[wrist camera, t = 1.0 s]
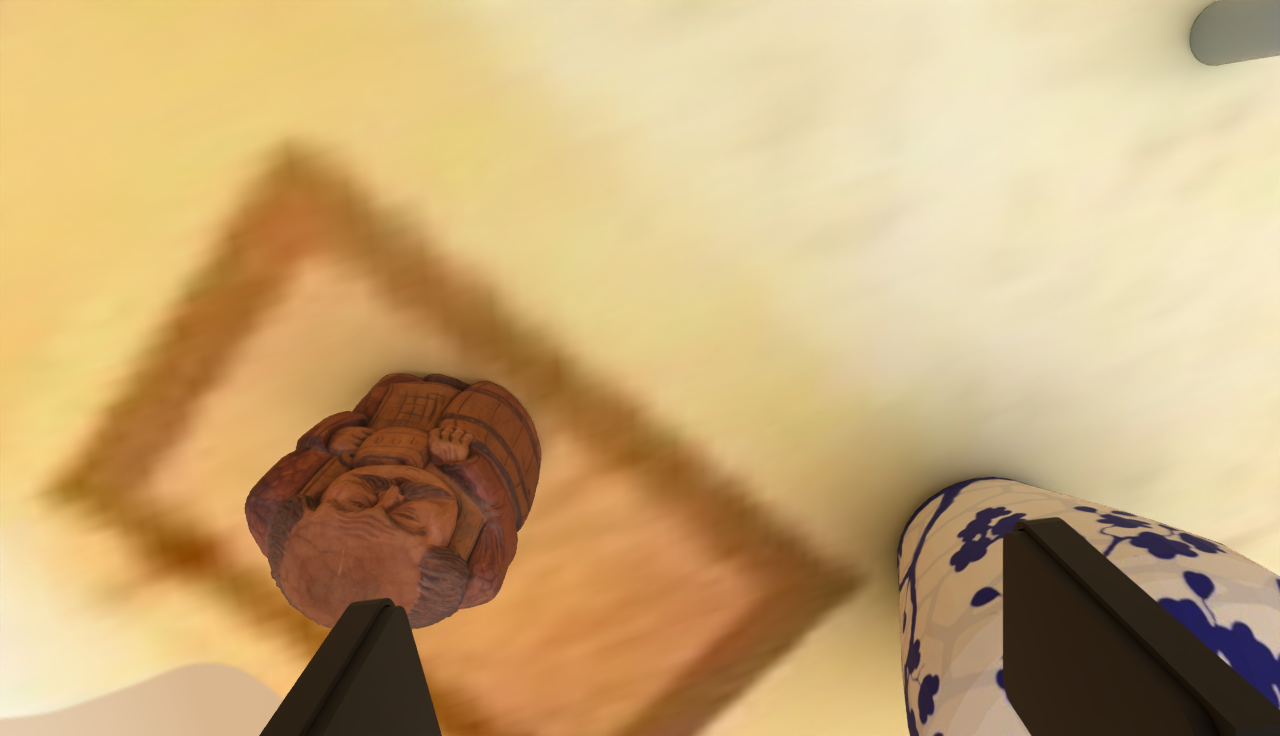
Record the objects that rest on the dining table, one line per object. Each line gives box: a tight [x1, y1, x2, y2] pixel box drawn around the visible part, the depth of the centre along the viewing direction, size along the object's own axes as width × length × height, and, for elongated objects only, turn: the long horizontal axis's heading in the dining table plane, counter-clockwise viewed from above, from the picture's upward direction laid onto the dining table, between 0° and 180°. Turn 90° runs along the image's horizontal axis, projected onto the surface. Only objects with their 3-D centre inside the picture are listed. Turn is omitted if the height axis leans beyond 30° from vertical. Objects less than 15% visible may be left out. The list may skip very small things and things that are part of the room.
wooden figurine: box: [245, 374, 541, 629], centre depth 35 cm, size 12×6×18 cm, turn 79°
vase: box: [897, 477, 1280, 736], centre depth 32 cm, size 19×19×30 cm
